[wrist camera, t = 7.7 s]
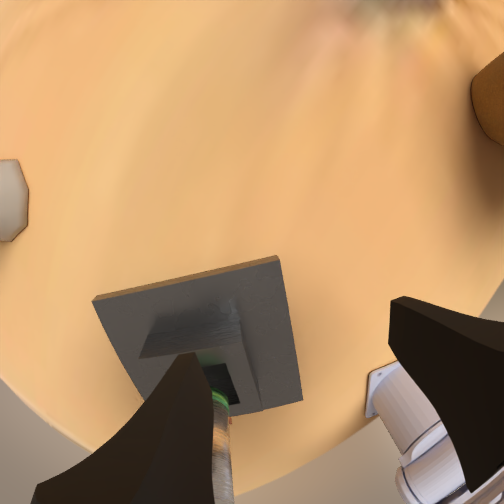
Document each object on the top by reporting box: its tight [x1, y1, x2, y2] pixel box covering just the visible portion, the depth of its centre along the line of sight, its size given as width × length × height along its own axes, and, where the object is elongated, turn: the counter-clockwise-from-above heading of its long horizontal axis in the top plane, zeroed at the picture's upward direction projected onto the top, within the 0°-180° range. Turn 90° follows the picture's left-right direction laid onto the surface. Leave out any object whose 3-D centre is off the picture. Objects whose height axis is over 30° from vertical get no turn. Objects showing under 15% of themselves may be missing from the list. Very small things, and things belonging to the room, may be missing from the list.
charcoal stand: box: [92, 255, 303, 424], centre depth 19 cm, size 14×14×4 cm
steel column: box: [210, 386, 234, 504], centre depth 12 cm, size 3×3×8 cm
